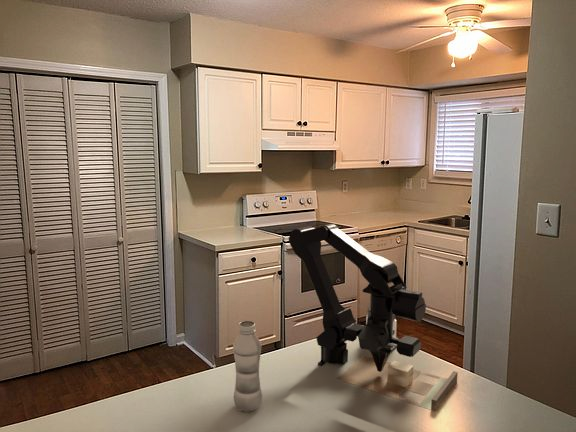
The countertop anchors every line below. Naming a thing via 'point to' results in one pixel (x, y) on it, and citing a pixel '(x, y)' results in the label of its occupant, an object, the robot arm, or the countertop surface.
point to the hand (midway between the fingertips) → (379, 371)
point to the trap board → (376, 381)
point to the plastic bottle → (247, 368)
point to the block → (400, 373)
